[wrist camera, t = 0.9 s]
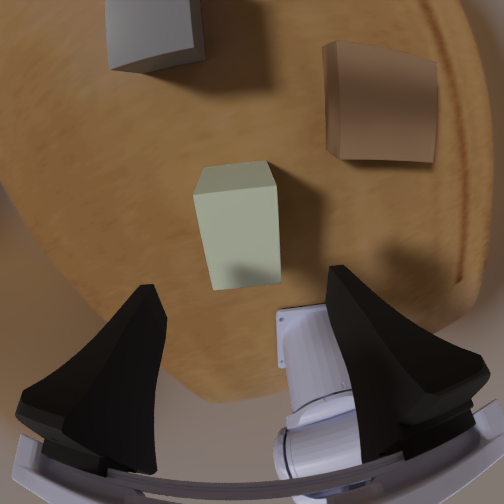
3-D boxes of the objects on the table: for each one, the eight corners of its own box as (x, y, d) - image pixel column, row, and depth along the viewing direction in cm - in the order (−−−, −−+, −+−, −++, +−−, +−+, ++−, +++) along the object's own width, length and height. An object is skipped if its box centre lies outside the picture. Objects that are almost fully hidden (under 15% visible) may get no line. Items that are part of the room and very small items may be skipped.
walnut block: (409, 150, 17) (433, 162, 14) (324, 148, 17) (339, 159, 14) (411, 62, 13) (436, 62, 10) (320, 47, 13) (336, 40, 10)
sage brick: (271, 239, 20) (281, 283, 16) (217, 245, 20) (213, 290, 16) (266, 160, 17) (276, 185, 13) (204, 167, 17) (192, 195, 13)
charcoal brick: (206, 60, 13) (193, 47, 9) (143, 73, 13) (109, 70, 9) (198, -17, 10) (185, -50, 5) (136, -2, 10) (105, -26, 5)
